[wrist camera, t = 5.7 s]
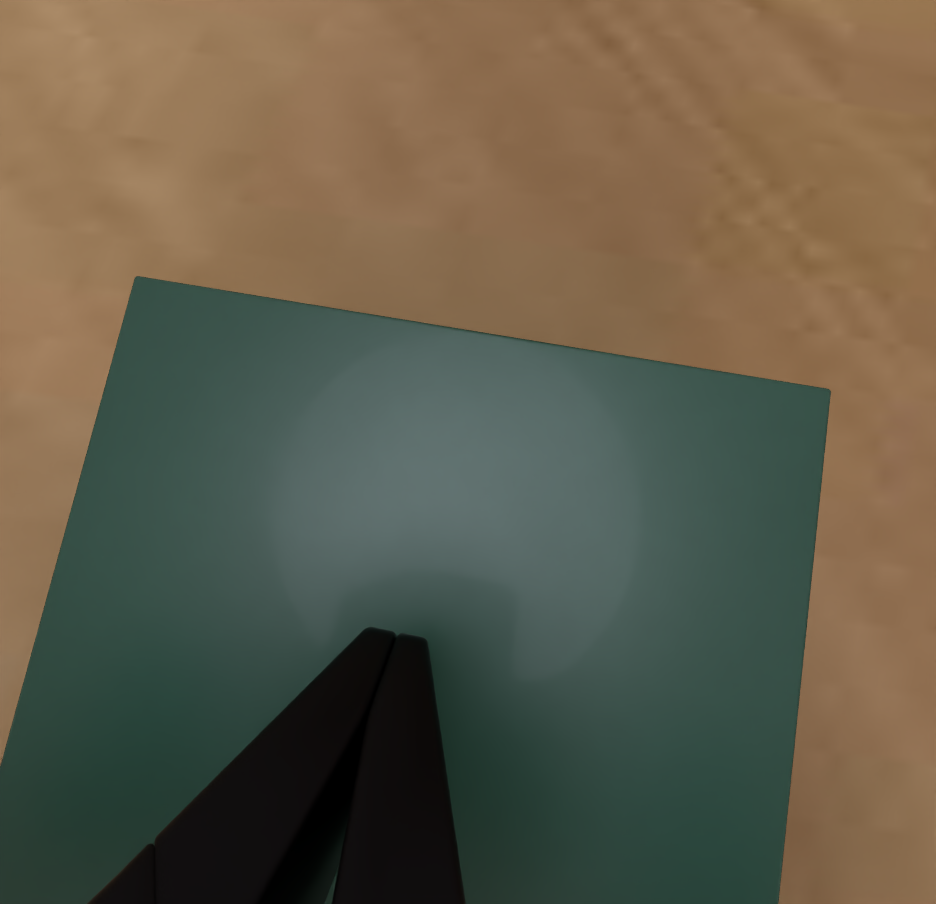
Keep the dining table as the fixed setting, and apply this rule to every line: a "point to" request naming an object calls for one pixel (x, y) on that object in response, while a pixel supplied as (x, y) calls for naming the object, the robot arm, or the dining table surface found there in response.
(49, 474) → the dining table surface
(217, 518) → the lid
